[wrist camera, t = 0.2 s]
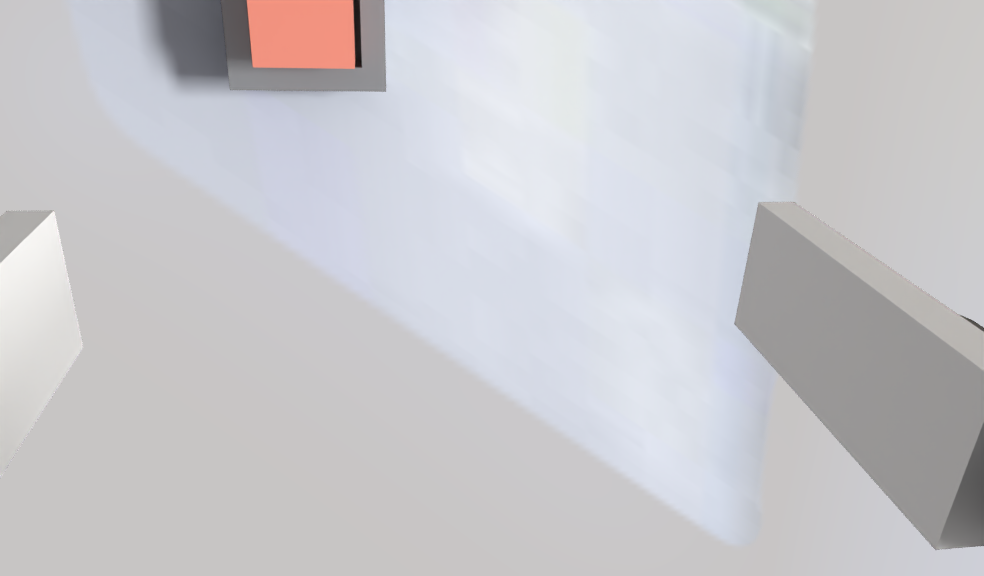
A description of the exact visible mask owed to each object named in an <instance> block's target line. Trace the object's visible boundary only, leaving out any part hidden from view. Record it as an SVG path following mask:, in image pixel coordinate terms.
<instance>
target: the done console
mask: <svg viewBox="0 0 984 576" xmlns="http://www.w3.org/2000/svg"><path fill="white" fill-rule="evenodd" d="M353 5H354V34H355V69H329V68H258V67H253V64H252V53H251V41H250V30H249V19H248V8H247V0H221V9H222V18H223V28H224V38H225V47H226V57H227V66H228V76H229V86H230V90H279V91H380V92H386V66H385V12H384V0H353Z"/></svg>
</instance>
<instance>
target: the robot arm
mask: <svg viewBox="0 0 984 576" xmlns="http://www.w3.org/2000/svg"><path fill="white" fill-rule="evenodd" d="M734 324H735V325H736V326H737V327H738V329H739V330H740V331H741V332H742V333H743V334H744V335H745V336H746V338H747V339H748V340H749V341H750V342H751V343H752V344H753V345H754V347H755V348H756V349H757V350H758V351H759V352H760V353H761V354H762V356H763V357H764V358H765V359H766V360H767V361H768V362H769V363H770V365H771V366H772V367H773V368H774V369H775V370H776V371H777V372H778V374H779V375H780V376H781V377H782V378H783V379H784V380H785V381H786V382H787V384H788V385H789V386H790V387H791V388H792V389H793V390H794V391H795V393H796V394H797V395H798V396H799V397H800V398H801V399H802V401H804V403H805V404H806V405H807V406H808V407H809V408H810V410H811V411H812V412H813V413H814V414H815V415H816V416H817V417H818V418H819V419H820V421H821V422H822V423H823V424H824V425H825V426H826V428H827V429H828V430H829V431H830V432H831V433H832V434H833V435H834V437H835V438H836V439H837V440H838V441H839V442H840V443H841V444H842V446H843V447H844V448H845V449H846V450H847V451H848V452H849V453H850V454H851V456H852V457H853V458H854V459H855V460H856V461H857V462H858V463H859V465H860V466H861V467H862V468H863V469H864V470H865V471H866V473H867V474H868V475H869V476H870V477H871V478H872V479H873V480H874V482H875V483H876V484H877V485H878V486H879V487H880V488H881V489H882V491H883V492H884V493H885V494H886V495H887V496H888V497H889V498H890V499H891V501H892V502H893V503H894V504H895V505H896V506H897V507H898V509H899V510H900V511H901V512H902V513H903V514H904V515H905V516H906V518H907V519H908V520H909V521H910V522H911V523H912V524H913V525H914V527H915V528H916V529H917V530H918V531H919V532H920V533H921V534H922V536H923V537H924V538H925V539H926V540H927V541H928V542H929V543H930V544H931V546H932V547H933V548H934V549H935V550H939V549H951V548H962V547H974V546H984V328H983V327H982V326H980V325H979V324H977V323H976V322H974V321H972V320H970V319H968V318H966V317H964V316H961V315H959V314H957V313H955V312H954V311H953V310H951V309H950V308H948V307H947V306H945V305H944V304H942V303H941V302H939V301H938V300H937V299H935V298H934V297H932V296H931V295H929V294H928V293H926V292H925V291H923V290H922V289H920V288H919V287H917V286H916V285H914V284H913V283H912V282H910V281H909V280H907V279H906V278H904V277H903V276H902V275H900V274H899V273H897V272H896V271H894V270H893V269H891V268H890V267H888V266H887V265H885V264H884V263H882V262H881V261H880V260H878V259H877V258H875V257H874V256H872V255H871V254H869V253H868V252H866V251H865V250H864V249H862V248H861V247H859V246H858V245H856V244H855V243H853V242H852V241H850V240H849V239H848V238H846V237H844V236H843V235H842V234H840V233H839V232H837V231H836V230H834V229H833V228H831V227H830V226H829V225H827V224H826V223H824V222H823V221H821V220H820V219H818V218H817V217H815V216H814V215H812V214H811V213H810V212H808V211H807V210H805V209H804V208H802V207H801V206H799V205H798V204H796V203H795V202H759V203H758V208H757V213H756V218H755V223H754V228H753V233H752V238H751V243H750V248H749V253H748V258H747V263H746V268H745V273H744V278H743V283H742V288H741V293H740V298H739V303H738V308H737V313H736V318H735V323H734ZM82 349H83V343H82V338H81V334H80V329H79V325H78V320H77V315H76V310H75V306H74V301H73V297H72V292H71V287H70V282H69V278H68V274H67V268H66V264H65V259H64V254H63V250H62V245H61V241H60V236H59V231H58V226H57V222H56V217H55V213H54V210H53V211H52V210H50V211H6V212H5V213H4V214H3V215H1V216H0V478H1V476H2V474H3V473H4V471H5V470H6V468H7V467H8V465H9V464H10V462H11V460H12V459H13V457H14V456H15V454H16V452H17V451H18V449H19V448H20V446H21V445H22V443H23V442H24V440H25V438H26V437H27V435H28V434H29V432H30V431H31V429H32V427H33V426H34V424H35V423H36V421H37V420H38V418H39V416H40V415H41V413H42V412H43V410H44V409H45V407H46V405H47V404H48V402H49V401H50V399H51V397H52V396H53V394H54V392H55V391H56V390H57V388H58V387H59V385H60V383H61V382H62V380H63V379H64V377H65V375H66V374H67V372H68V371H69V369H70V368H71V366H72V365H73V363H74V361H75V360H76V358H77V357H78V355H79V354H80V352H81V350H82Z"/></svg>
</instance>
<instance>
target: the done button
mask: <svg viewBox="0 0 984 576" xmlns="http://www.w3.org/2000/svg"><path fill="white" fill-rule="evenodd" d="M247 8H248V19H249V30H250V41H251V53H252V64H253V67H258V68H329V69H355V34H354V5H353V0H247Z"/></svg>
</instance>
